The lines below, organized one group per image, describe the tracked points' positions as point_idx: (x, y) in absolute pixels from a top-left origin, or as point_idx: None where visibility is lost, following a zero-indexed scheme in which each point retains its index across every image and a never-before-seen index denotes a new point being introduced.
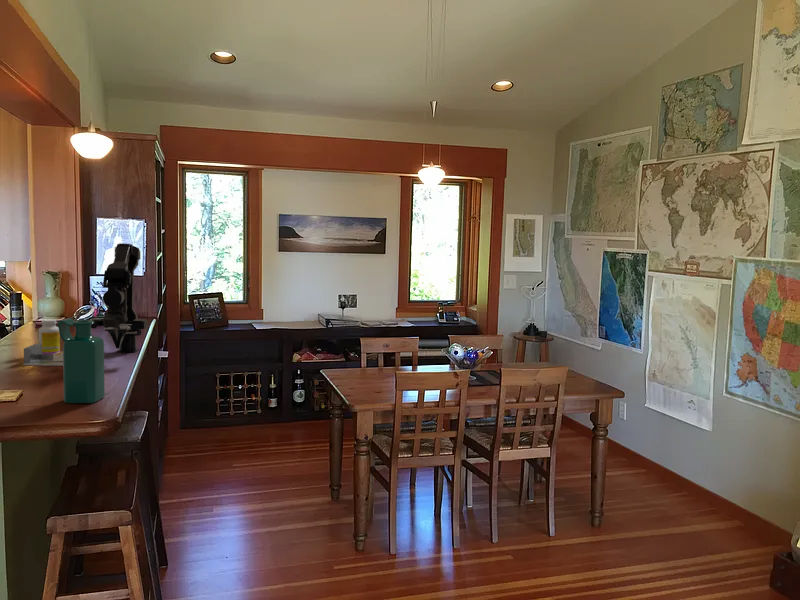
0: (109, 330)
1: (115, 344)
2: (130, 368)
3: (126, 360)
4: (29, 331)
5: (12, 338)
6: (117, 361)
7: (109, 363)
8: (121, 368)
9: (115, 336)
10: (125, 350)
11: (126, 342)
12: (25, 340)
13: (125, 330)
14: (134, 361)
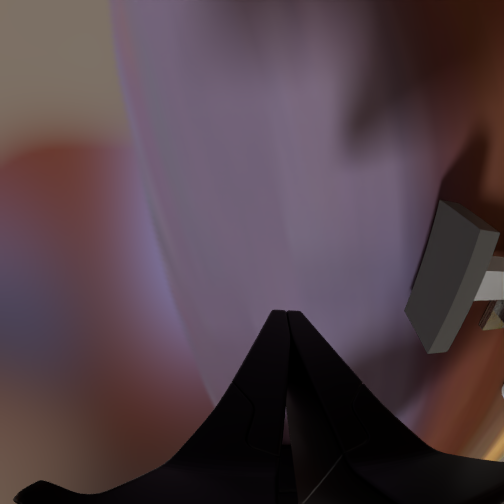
0: (493, 488)
1: (314, 335)
2: (131, 48)
3: (238, 321)
4: None
5: (500, 458)
6: (291, 295)
7: (336, 232)
8: (199, 40)
9: (329, 426)
10: (284, 451)
11: (281, 482)
12: (492, 457)
13: (23, 490)
14: (176, 291)
